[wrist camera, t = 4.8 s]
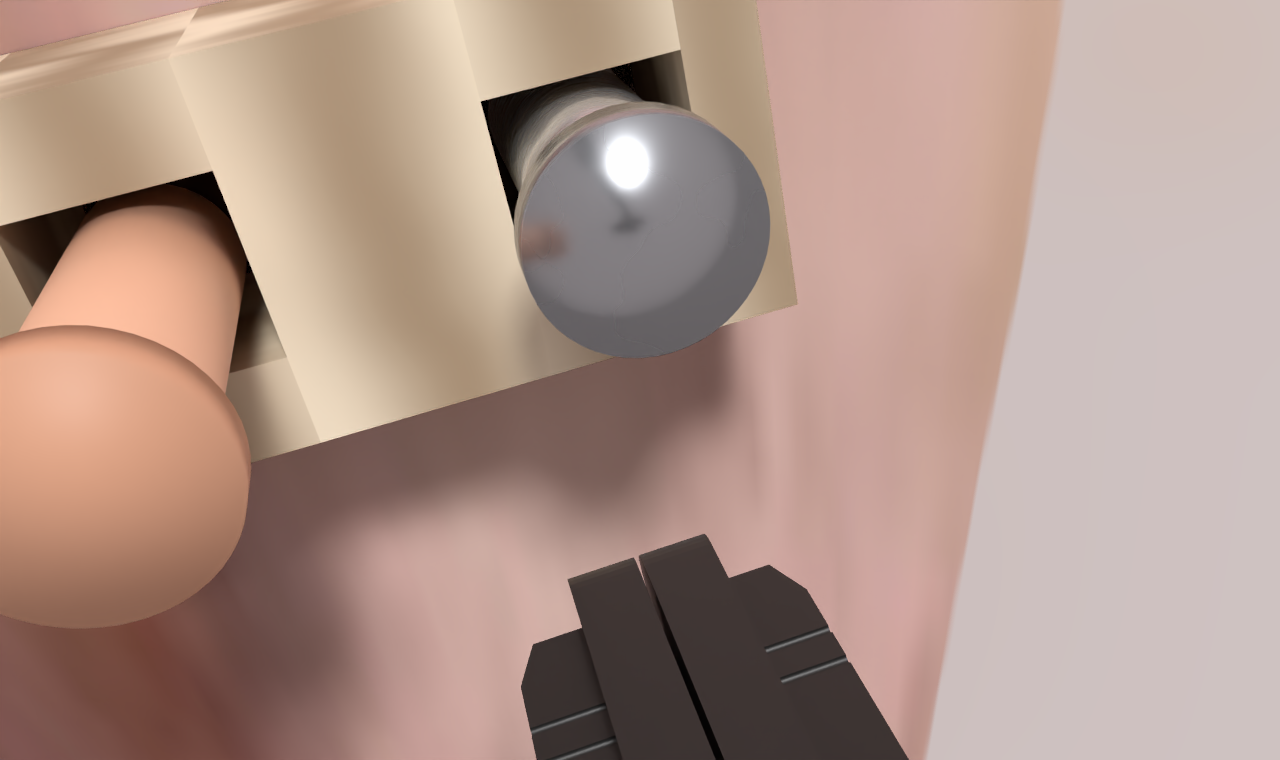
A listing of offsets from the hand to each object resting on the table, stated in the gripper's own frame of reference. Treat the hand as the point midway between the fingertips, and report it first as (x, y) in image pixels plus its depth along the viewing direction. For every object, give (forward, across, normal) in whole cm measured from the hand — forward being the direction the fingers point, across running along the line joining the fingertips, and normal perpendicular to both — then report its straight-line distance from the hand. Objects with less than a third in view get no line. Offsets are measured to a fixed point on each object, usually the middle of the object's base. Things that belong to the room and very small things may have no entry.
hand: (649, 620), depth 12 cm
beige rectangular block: (+21, +2, 0) cm, 21 cm away
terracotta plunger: (+17, +7, 0) cm, 18 cm away
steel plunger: (+20, -3, 0) cm, 20 cm away
